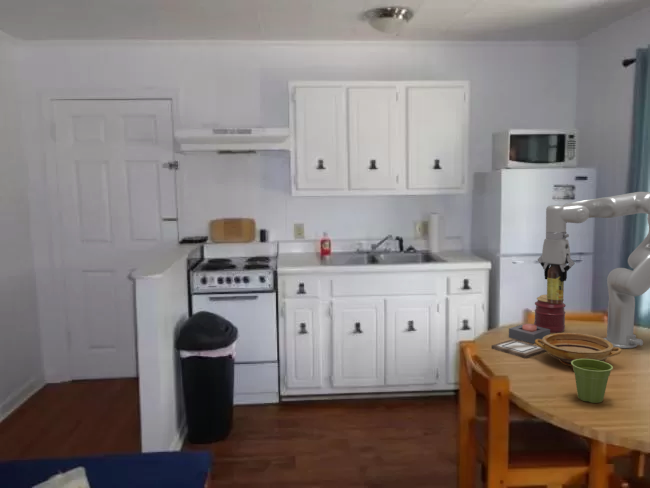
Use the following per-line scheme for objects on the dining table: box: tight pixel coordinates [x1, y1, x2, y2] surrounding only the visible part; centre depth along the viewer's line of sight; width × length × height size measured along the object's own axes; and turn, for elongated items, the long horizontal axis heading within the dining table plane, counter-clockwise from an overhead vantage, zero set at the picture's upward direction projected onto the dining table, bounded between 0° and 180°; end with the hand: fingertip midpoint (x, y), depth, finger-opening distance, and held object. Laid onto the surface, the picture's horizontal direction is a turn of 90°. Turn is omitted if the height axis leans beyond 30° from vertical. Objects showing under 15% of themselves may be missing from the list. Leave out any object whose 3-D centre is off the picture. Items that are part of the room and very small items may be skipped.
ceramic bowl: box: [535, 332, 622, 368], centre depth 206 cm, size 30×24×8 cm
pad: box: [491, 338, 547, 359], centre depth 222 cm, size 16×14×1 cm
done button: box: [521, 323, 537, 332], centre depth 237 cm, size 6×6×3 cm
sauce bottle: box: [546, 264, 565, 304], centre depth 223 cm, size 6×6×20 cm
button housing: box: [508, 324, 551, 345], centre depth 237 cm, size 12×12×4 cm
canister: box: [533, 294, 566, 334], centre depth 248 cm, size 13×13×18 cm
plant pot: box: [571, 359, 614, 404], centre depth 173 cm, size 12×12×11 cm
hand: (555, 279), depth 223 cm, fingers closed on sauce bottle, 6 cm apart
